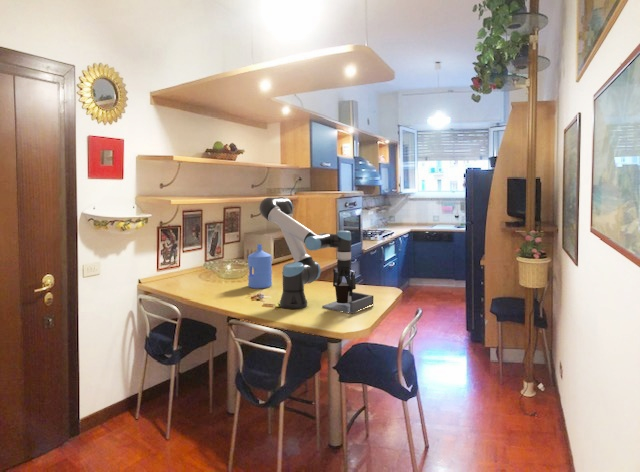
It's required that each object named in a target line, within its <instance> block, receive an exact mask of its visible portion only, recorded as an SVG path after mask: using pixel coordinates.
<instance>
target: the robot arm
mask: <svg viewBox="0 0 640 472" xmlns="http://www.w3.org/2000/svg"><path fill="white" fill-rule="evenodd" d="M258 208H259V212H260V215H261V216H262V217H263V218H264V219H265V220H267V221H268V222H270V223H275V224H276V225H277V226H279V228H280V230H281V233H282V235H283V238H284V240H285V242H286V244H287V247H288V249H289V252H290V254H291V256H292V258H293V261H294V262H289V263H288V262H287V263H286V264H284V265H283V266H282V293H281V297H280V300H279V307H280V306H281V307H280V308H283V309H288V310H289V309H290V310H296V309H298V310H299V309H303V308H306V307H307V306H308V300H307V299H306V295H305V285H306V284H308V283H313V282H315V281H317V280H318V279H319V278H320V276H321V273H322V272H321V271H322V270H321V269H322V268H321V266H320V264H319V263H318V262H316V261H315V260H314V259H313V256H312V255H309V254H308V252H307V250H308V251H311V252H312V251H318V250H322V249H327V248H332V249H333V248H335V249H336V251H337V253H336V254H337V255H336V256H337V257H336V258H337V260H336V261H337V263H336V265H337V268H333V271H332V272H333V276H332V277H333V280H332V287H334V288H335V283H337V285H340V283H341V282H342V281H343V277H344V279H345V280H346V283H347V285H349V290H348V291H349V292H348V302H351V296H352V292H354V290H356V289H357V288H356V273H357V271H355V270H352V268H351V267H352V260H351V259H352V233H351V231H350V230H338V231H337V232H336V233H327V232H325V233H324V232H321V233H319V234H316V233H315V232H313V231H312V230H311V229H309V228H307V227H306V226H305V225H303V224H301V223H300V222H299V221H297V220H295V219H294V218H293V217H294V214H293V212H294V204H293V203H292V201H291V200H290V199H289V198H287V197H283V196H280V197H266V198H264V199H263V200H262V201H261V202H260V204H259V207H258ZM306 249H307V250H306Z"/></svg>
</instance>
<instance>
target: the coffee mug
mask: <svg viewBox="0 0 640 472" xmlns="http://www.w3.org/2000/svg"><path fill="white" fill-rule="evenodd" d="M334 288H335V298H336V301H337V303H348V292H349V291H348V290H349V285H347V281H346V282H342V281H341V283H340V285H337V283H335V287H334Z"/></svg>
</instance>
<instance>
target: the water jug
mask: <svg viewBox="0 0 640 472" xmlns="http://www.w3.org/2000/svg"><path fill="white" fill-rule="evenodd" d="M262 246H263V244H257V246H256V247H257V249H256V251H254V252H251V254H249V255H248V256H247V266H248V270H249V271H248V276H247V277H248V284H247V285H248V288H250V289H256V290H257V289H259V290H260V289H267V288H271V287H272V285H273V282H272V274H273V270H272V269H273V268H272V262H273V261H272V254H270V253H269V252H265V251H264V250H263V247H262Z"/></svg>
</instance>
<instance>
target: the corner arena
mask: <svg viewBox="0 0 640 472" xmlns="http://www.w3.org/2000/svg"><path fill="white" fill-rule="evenodd" d="M372 304H373V305H374V295H372V294H366V293H360V292H356V291H352V296H351V302H348V303H337V300H336V301H333V302H330V303H327V304H324V305H322V307H321V308H322V309H326V308H327V310H331V309H332V310H333V311H335V310H337V311H336V312H340V311H343V312H342V313H344V312H349V313H354V312H356V311H358V310H360V309H363V308H365V307H367V306H369V305H372ZM332 310H331V311H332ZM349 313H348V314H349Z"/></svg>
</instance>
